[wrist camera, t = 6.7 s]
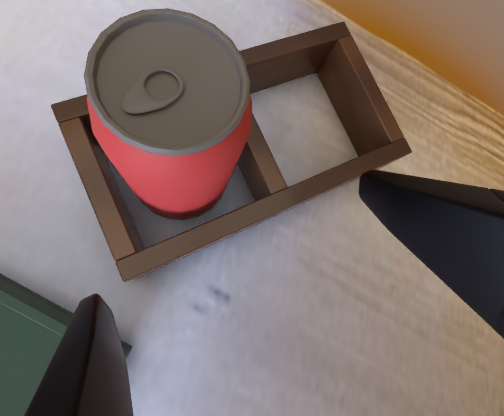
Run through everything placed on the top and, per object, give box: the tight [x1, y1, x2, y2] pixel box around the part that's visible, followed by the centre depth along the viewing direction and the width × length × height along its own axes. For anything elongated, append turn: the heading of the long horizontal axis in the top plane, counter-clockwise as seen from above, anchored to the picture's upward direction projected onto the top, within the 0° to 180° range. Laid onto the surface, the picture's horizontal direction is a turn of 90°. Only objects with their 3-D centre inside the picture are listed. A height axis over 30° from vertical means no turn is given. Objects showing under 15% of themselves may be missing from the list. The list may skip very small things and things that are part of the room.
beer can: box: [84, 9, 252, 220], centre depth 16 cm, size 7×7×12 cm
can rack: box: [51, 22, 412, 282], centre depth 21 cm, size 11×21×4 cm, turn 115°
